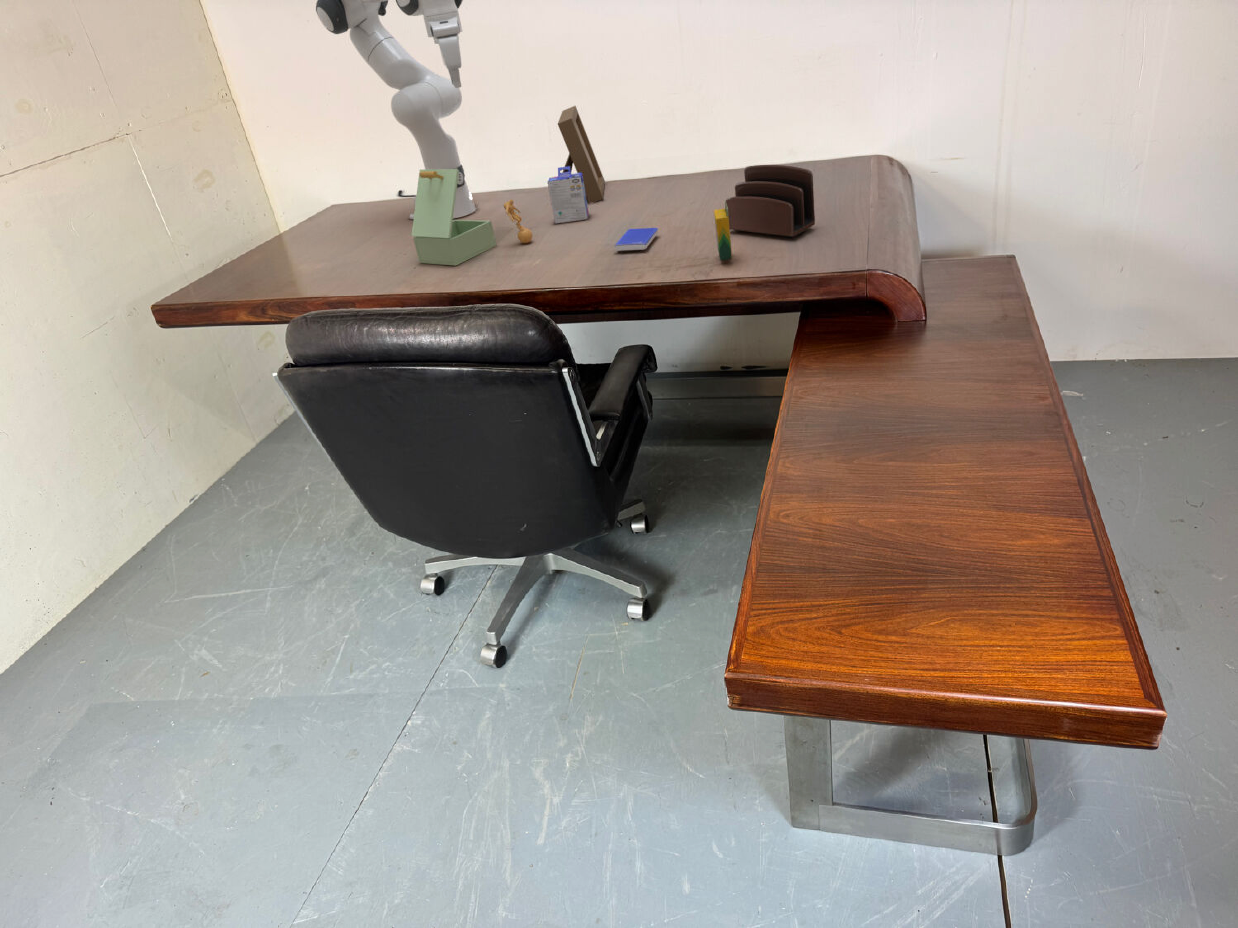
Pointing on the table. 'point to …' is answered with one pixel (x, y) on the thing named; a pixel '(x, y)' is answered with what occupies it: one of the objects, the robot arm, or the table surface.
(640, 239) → the hard drive
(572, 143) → the photo frame
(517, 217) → the figurine
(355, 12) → the robot arm
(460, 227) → the chest
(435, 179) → the chest lid
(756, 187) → the letter holder
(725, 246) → the crayon box
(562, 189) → the ink cartridge box
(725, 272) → the table surface
